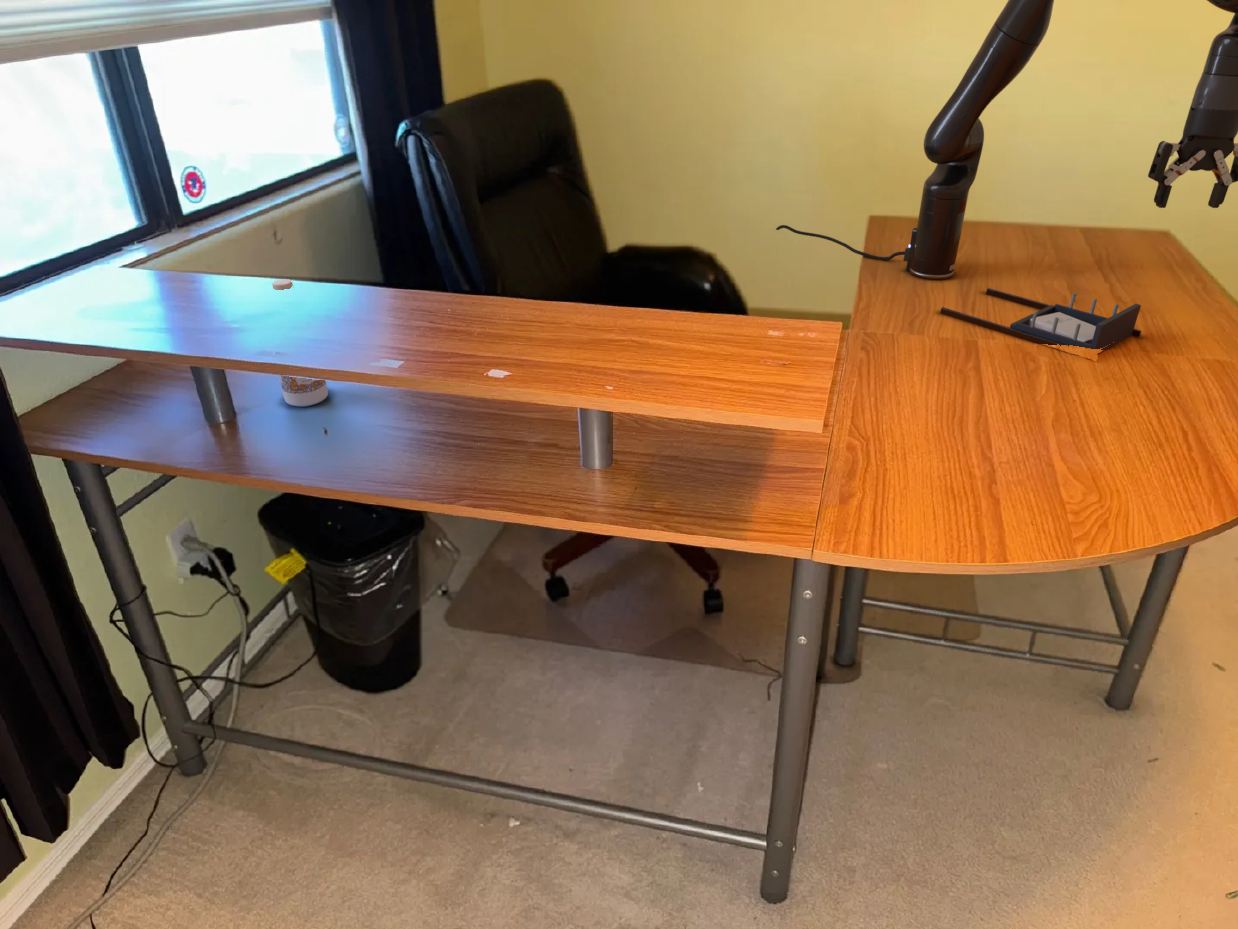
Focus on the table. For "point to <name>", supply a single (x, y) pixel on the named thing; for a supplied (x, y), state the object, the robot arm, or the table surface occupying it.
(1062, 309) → the rack
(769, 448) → the table surface
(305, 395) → the patterned jar
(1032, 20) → the robot arm
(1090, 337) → the hard drive
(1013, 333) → the rack rails
